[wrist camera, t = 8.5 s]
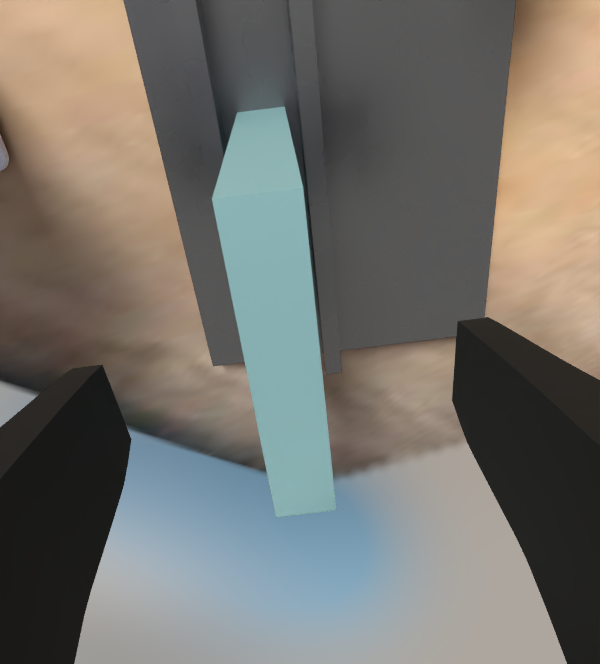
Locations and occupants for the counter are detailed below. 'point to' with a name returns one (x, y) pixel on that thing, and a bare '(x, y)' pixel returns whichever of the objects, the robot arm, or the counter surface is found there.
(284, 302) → the teal slab
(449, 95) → the rack
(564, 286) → the counter surface
